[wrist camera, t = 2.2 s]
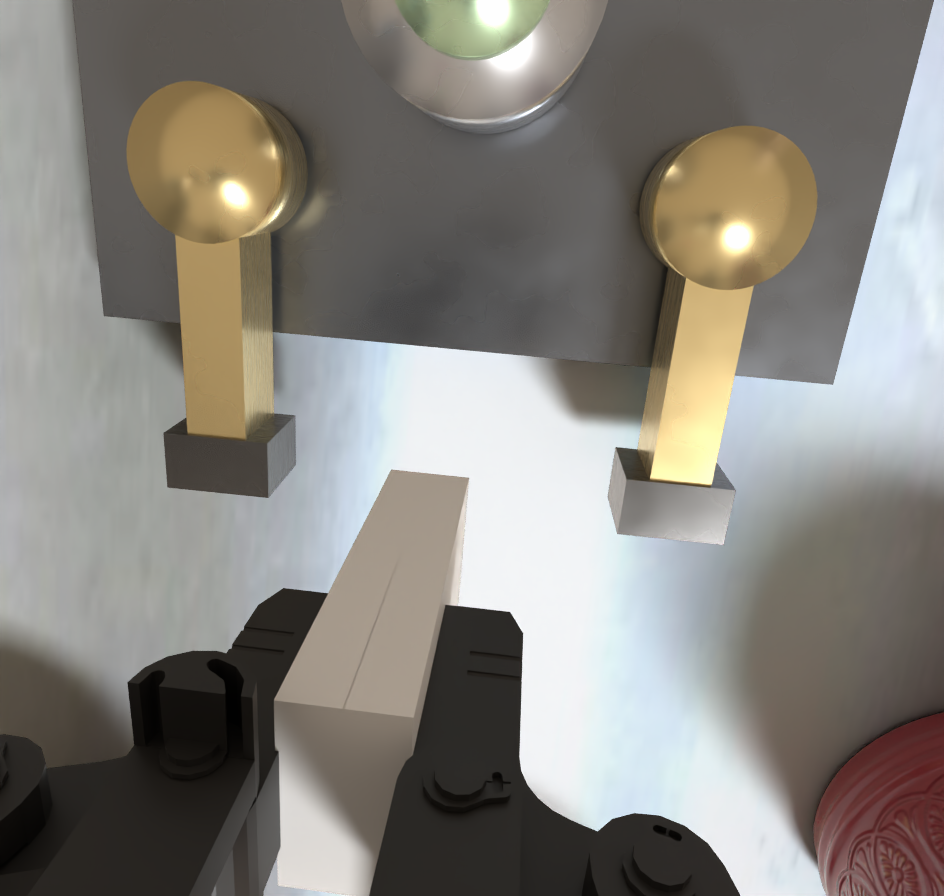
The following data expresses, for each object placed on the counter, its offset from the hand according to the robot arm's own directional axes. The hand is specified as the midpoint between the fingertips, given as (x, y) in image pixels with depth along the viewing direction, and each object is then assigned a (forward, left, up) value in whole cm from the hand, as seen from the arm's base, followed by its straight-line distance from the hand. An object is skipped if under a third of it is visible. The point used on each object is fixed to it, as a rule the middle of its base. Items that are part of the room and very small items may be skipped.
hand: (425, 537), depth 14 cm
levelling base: (0, +8, -13) cm, 15 cm away
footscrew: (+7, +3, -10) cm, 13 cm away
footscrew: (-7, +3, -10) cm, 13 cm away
